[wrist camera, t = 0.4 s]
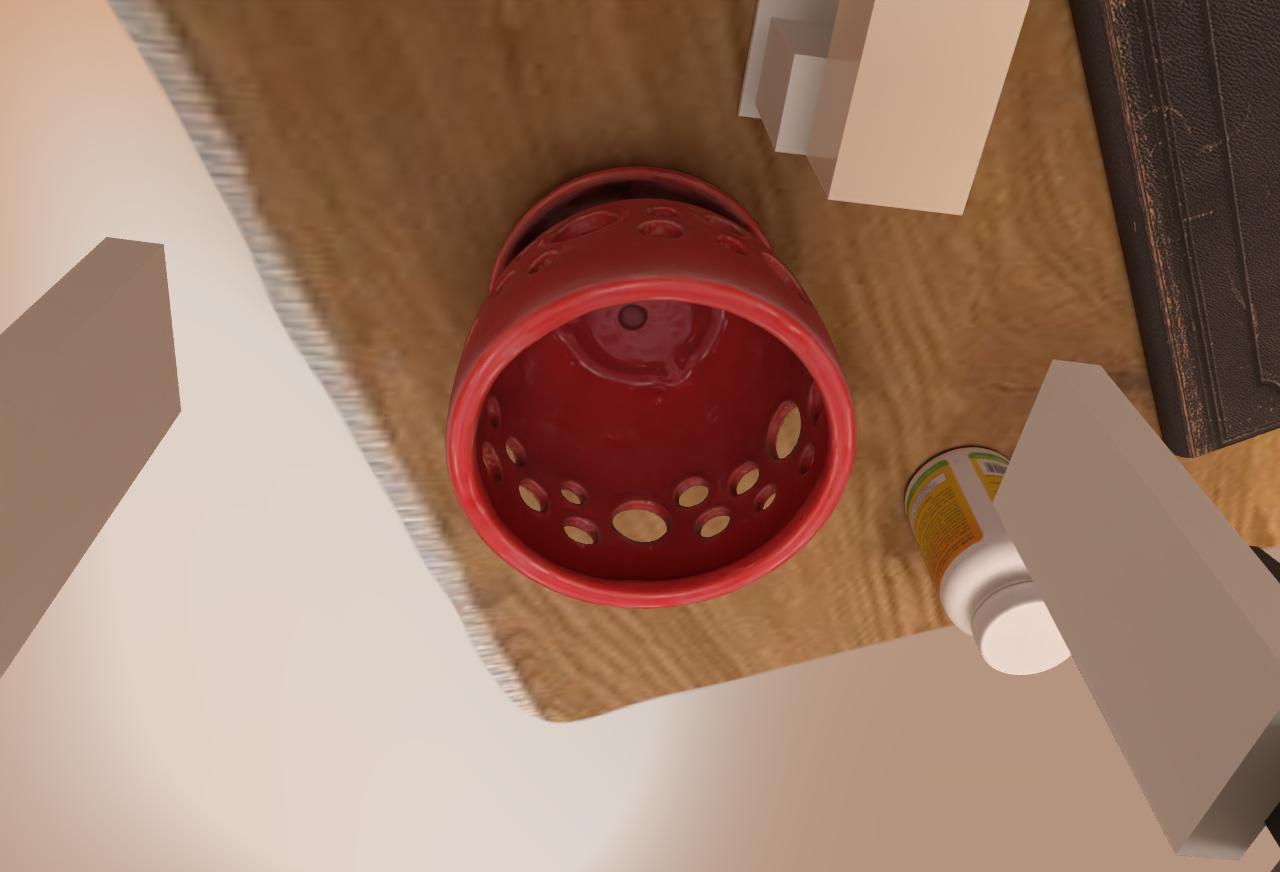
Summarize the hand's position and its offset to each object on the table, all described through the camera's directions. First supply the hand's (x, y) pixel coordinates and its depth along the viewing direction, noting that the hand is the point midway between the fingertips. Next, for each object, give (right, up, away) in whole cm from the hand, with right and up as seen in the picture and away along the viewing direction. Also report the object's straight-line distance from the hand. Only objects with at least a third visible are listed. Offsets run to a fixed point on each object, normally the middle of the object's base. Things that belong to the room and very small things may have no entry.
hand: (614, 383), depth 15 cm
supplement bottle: (+15, -3, +32) cm, 36 cm away
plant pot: (0, +5, +27) cm, 27 cm away
